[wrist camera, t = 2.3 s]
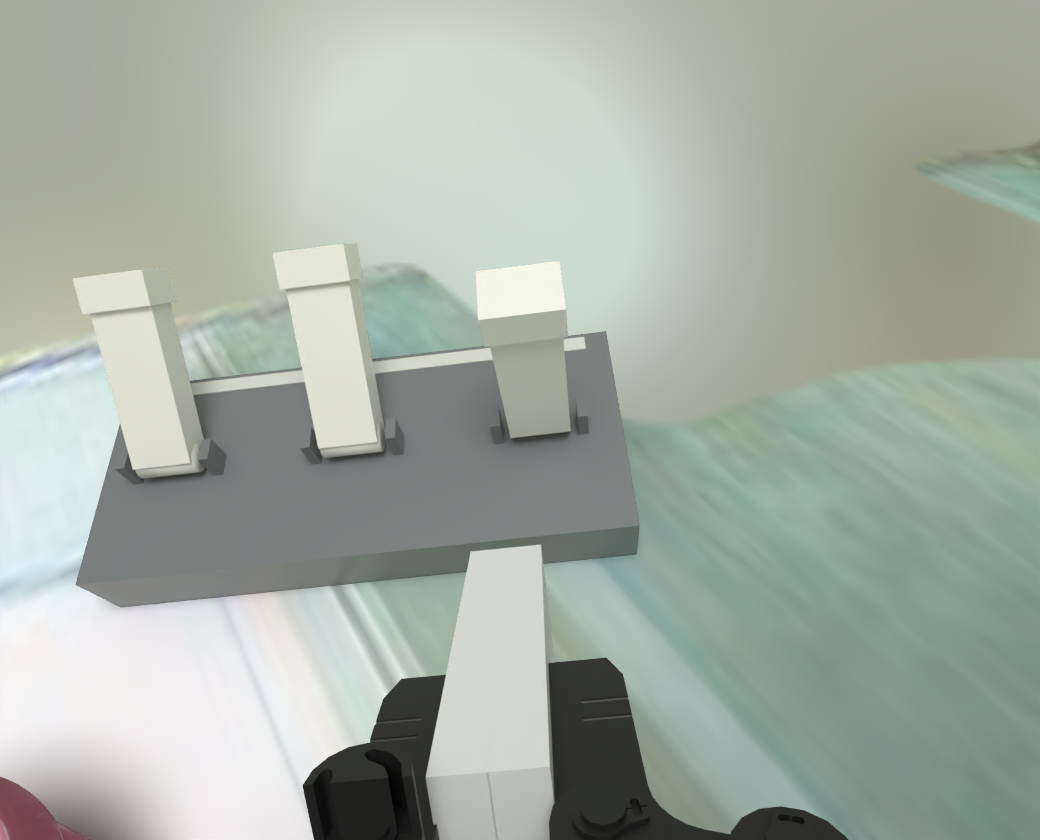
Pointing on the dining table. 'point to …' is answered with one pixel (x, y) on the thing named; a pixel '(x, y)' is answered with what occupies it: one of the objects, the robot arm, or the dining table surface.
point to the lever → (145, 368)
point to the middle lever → (333, 347)
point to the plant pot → (28, 817)
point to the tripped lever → (527, 344)
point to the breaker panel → (366, 485)
